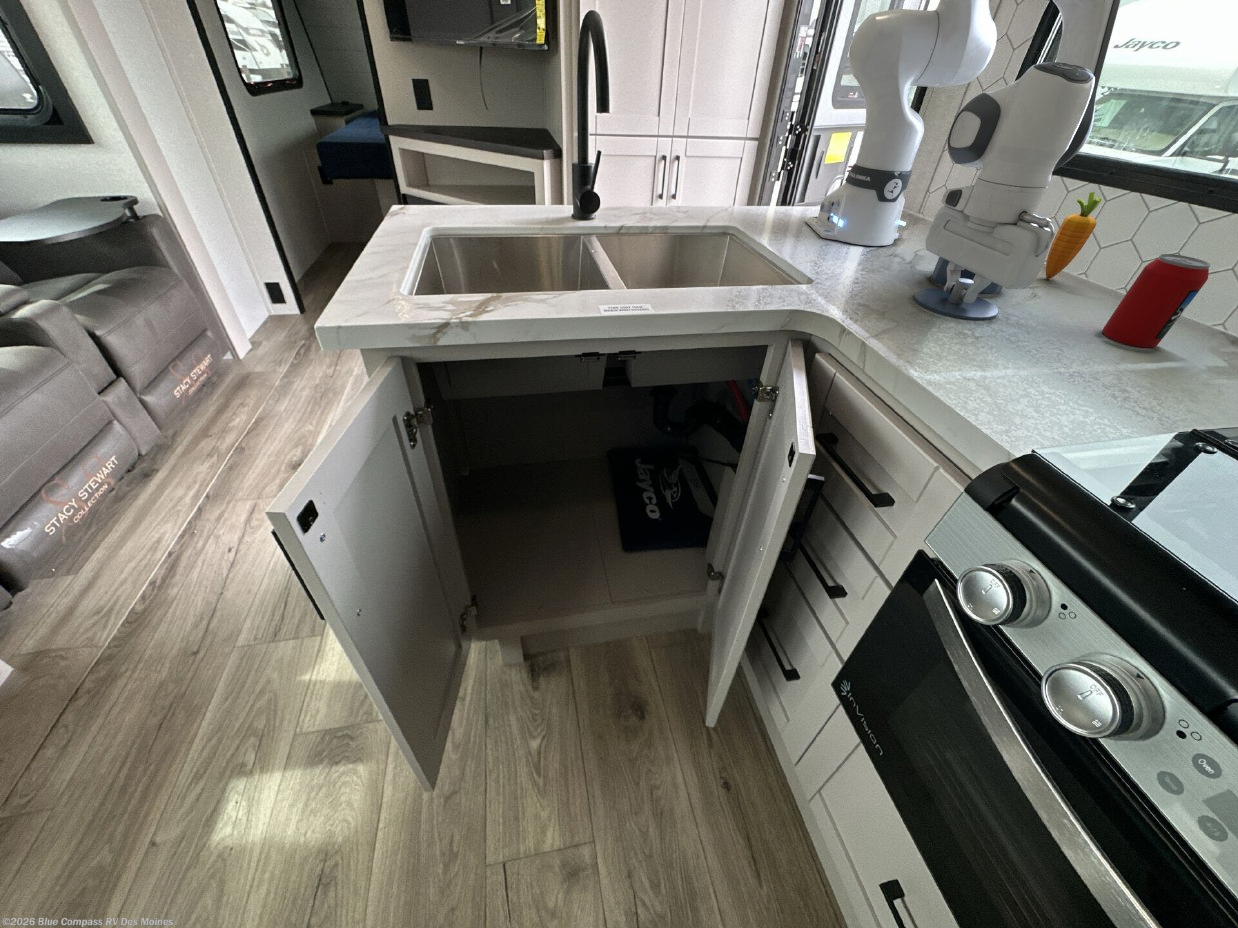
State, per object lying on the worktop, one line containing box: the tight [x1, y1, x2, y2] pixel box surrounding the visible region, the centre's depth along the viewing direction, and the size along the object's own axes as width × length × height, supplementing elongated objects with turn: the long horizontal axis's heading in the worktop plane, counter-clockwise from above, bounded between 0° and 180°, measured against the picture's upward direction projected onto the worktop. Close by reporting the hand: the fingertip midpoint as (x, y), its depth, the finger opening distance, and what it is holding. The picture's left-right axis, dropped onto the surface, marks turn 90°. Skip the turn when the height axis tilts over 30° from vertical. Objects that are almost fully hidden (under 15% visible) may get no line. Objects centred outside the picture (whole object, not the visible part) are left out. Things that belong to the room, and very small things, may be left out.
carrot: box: [1045, 191, 1103, 280], centre depth 95 cm, size 5×5×15 cm
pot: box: [930, 256, 1004, 296], centre depth 91 cm, size 11×17×8 cm
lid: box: [913, 278, 999, 321], centre depth 83 cm, size 12×12×5 cm
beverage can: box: [1102, 253, 1211, 349], centre depth 73 cm, size 7×7×12 cm
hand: (957, 297), depth 83 cm, fingers closed on lid, 2 cm apart
